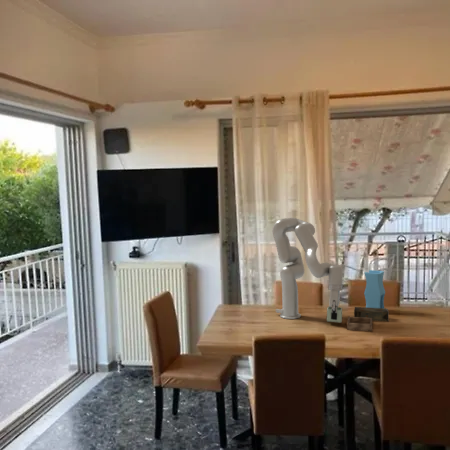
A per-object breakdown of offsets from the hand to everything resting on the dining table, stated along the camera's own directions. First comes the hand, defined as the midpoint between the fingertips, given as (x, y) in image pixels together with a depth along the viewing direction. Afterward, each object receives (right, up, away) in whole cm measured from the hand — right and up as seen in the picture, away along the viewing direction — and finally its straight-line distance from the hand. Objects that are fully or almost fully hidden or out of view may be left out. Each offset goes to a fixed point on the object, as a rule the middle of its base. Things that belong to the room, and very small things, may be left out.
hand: (334, 317), depth 258 cm
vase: (+31, -2, +25) cm, 40 cm away
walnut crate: (+12, -4, -6) cm, 15 cm away
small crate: (0, -2, 0) cm, 2 cm away
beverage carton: (+24, -3, +9) cm, 25 cm away
